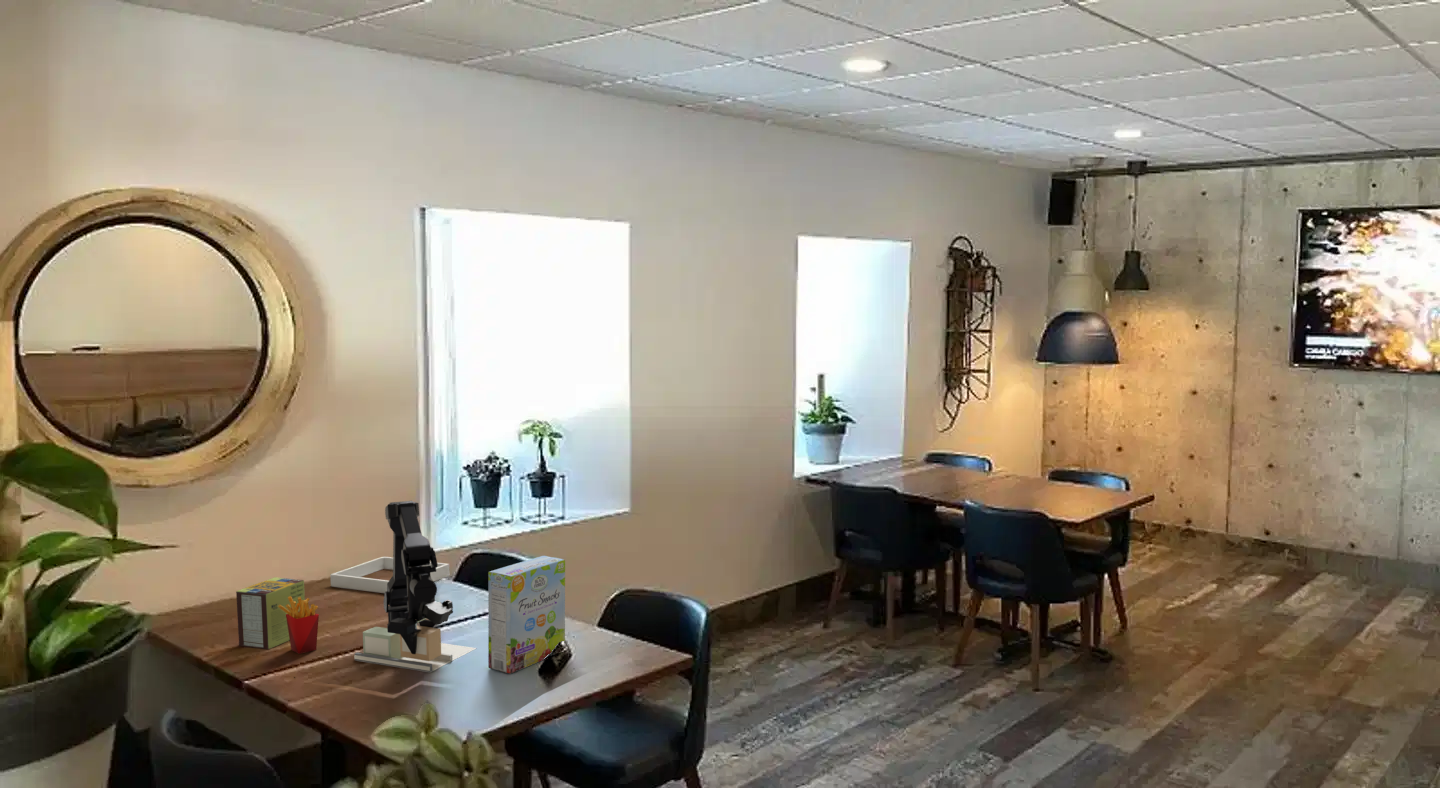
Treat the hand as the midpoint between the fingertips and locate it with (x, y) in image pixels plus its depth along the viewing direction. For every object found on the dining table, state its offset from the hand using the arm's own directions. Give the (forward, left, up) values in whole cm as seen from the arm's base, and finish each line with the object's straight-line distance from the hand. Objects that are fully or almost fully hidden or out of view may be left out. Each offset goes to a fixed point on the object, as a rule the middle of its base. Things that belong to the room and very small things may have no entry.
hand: (420, 650), depth 283 cm
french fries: (-37, -3, -4) cm, 38 cm away
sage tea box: (-12, 0, -3) cm, 12 cm away
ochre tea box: (0, 0, -1) cm, 1 cm away
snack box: (+24, +14, -4) cm, 28 cm away
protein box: (-52, +2, -4) cm, 53 cm away
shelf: (-5, +5, -4) cm, 9 cm away
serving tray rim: (-62, +64, -4) cm, 90 cm away
